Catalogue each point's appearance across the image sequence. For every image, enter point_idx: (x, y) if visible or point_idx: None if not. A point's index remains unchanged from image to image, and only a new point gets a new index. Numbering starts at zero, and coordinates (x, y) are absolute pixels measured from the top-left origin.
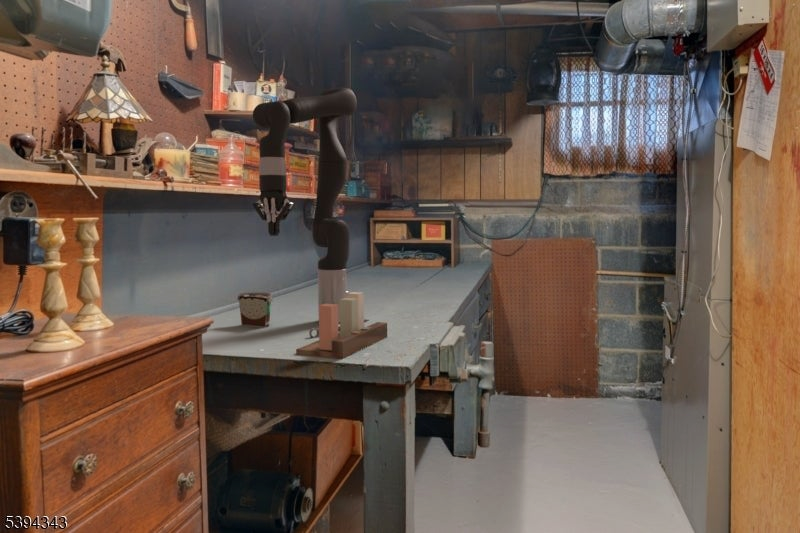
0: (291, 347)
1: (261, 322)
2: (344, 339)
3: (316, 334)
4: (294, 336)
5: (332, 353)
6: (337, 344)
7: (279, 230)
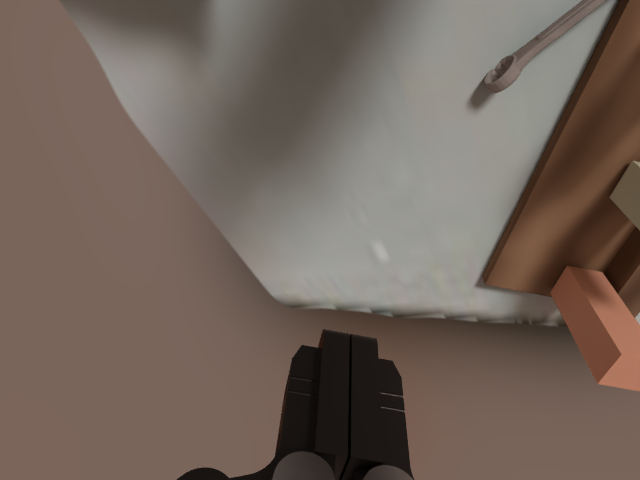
0: (452, 219)
1: None
2: (631, 308)
3: (509, 61)
4: (422, 73)
5: None
6: None
7: (401, 389)
